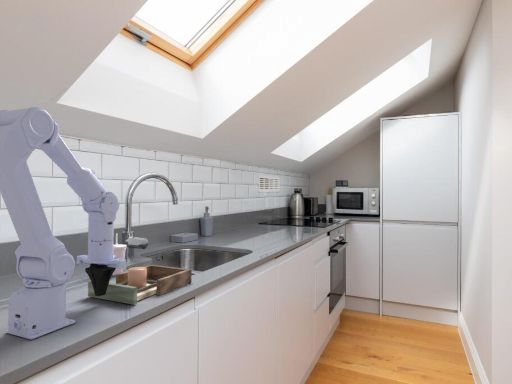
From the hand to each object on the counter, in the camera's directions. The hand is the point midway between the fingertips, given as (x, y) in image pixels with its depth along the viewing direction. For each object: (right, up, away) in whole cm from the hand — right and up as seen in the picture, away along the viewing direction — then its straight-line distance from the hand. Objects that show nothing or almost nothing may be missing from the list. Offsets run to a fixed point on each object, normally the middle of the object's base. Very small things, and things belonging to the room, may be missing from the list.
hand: (100, 295), depth 84 cm
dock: (+8, -3, +18) cm, 19 cm away
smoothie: (-9, -3, +32) cm, 33 cm away
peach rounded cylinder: (+5, -1, +12) cm, 13 cm away
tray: (+4, -2, +9) cm, 11 cm away
